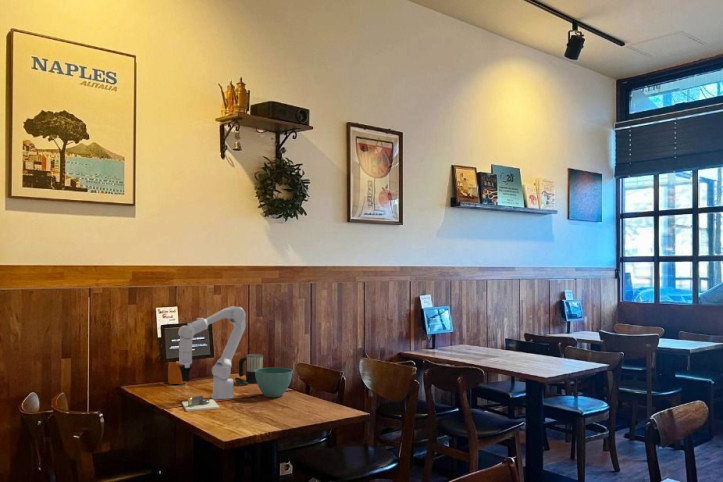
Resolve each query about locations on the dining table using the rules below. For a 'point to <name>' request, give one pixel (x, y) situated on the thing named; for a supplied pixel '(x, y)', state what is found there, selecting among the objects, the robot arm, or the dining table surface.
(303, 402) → the dining table surface
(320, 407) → the dining table surface
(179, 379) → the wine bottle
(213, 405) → the tuner plate
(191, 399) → the tuner dial
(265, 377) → the plant pot
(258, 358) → the milk frother
